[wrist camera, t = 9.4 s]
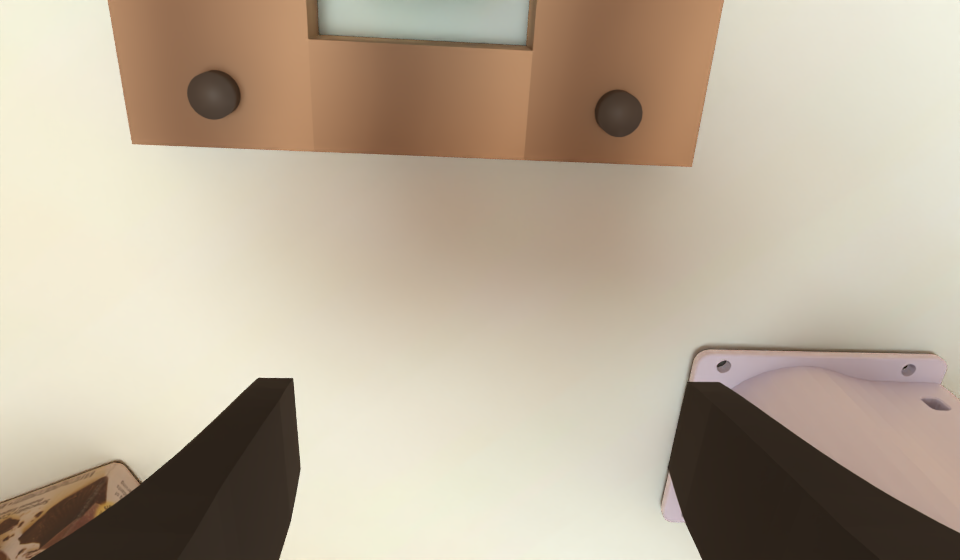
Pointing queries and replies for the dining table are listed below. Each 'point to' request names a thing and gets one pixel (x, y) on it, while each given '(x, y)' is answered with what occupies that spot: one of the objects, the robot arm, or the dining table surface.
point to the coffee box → (59, 510)
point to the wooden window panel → (420, 82)
